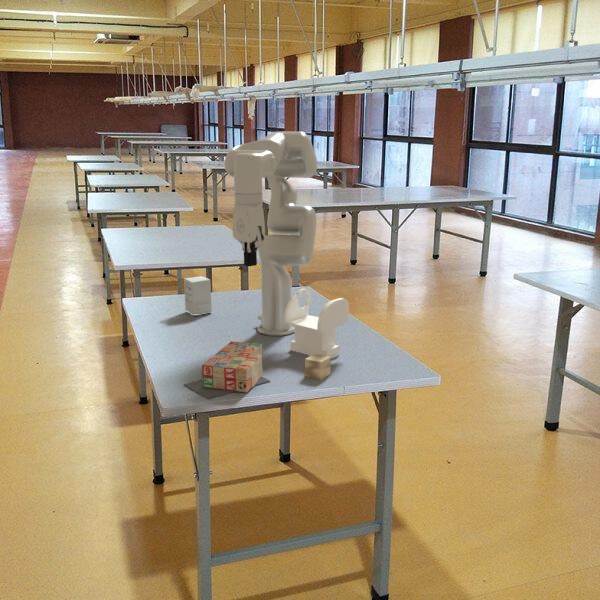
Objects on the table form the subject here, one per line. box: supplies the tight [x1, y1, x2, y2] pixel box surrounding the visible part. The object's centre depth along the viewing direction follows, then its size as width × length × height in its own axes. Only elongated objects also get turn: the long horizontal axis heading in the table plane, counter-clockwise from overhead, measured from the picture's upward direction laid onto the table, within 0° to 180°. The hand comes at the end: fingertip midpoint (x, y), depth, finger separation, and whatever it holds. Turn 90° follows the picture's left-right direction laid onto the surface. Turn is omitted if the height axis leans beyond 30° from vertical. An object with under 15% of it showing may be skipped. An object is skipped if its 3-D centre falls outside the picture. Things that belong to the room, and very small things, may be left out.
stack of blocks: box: [201, 341, 263, 393], centre depth 183 cm, size 21×6×12 cm
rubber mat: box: [183, 376, 271, 400], centre depth 179 cm, size 12×19×1 cm, turn 129°
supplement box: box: [183, 275, 213, 314], centre depth 244 cm, size 7×7×13 cm
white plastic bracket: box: [284, 288, 350, 360], centre depth 201 cm, size 14×13×18 cm
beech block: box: [304, 354, 331, 380], centre depth 184 cm, size 5×5×5 cm
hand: (250, 265), depth 190 cm, fingers closed
